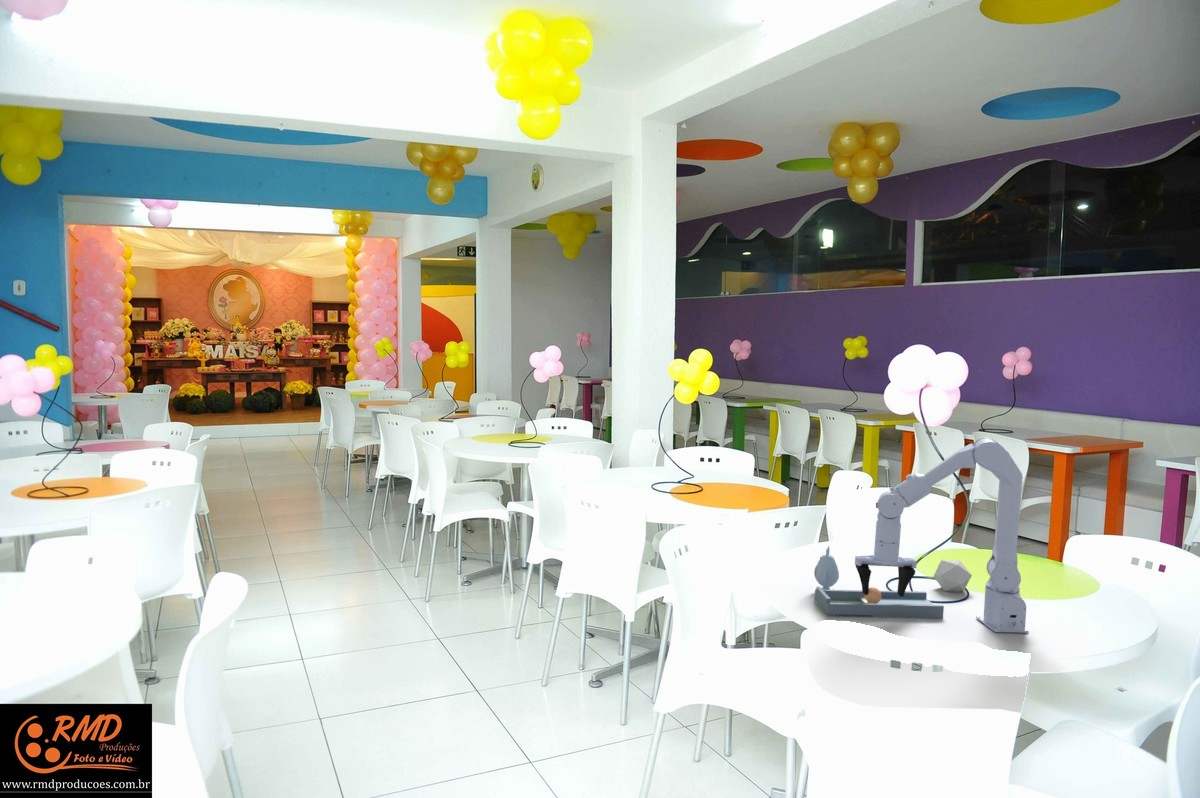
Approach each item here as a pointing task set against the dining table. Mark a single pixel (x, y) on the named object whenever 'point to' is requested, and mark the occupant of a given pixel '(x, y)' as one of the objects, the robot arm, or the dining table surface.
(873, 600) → the ball
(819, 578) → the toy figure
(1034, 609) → the dining table surface
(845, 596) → the lane
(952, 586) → the die
